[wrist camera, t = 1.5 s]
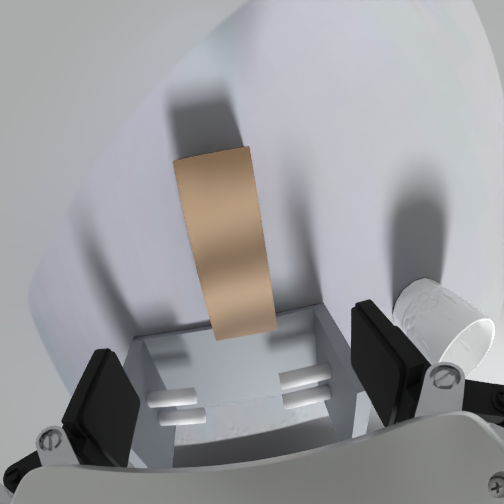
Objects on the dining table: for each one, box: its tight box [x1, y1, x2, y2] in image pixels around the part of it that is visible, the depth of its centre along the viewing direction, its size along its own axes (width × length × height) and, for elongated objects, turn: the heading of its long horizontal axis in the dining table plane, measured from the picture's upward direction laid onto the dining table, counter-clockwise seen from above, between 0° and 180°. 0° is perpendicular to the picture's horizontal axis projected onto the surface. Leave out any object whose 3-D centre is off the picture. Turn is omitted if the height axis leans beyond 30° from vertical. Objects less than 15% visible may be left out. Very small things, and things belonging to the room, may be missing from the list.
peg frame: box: [123, 303, 371, 468], centre depth 24 cm, size 19×11×12 cm, turn 100°
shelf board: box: [173, 146, 278, 341], centre depth 23 cm, size 14×5×5 cm, turn 9°
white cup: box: [393, 278, 495, 378], centre depth 25 cm, size 8×8×10 cm
